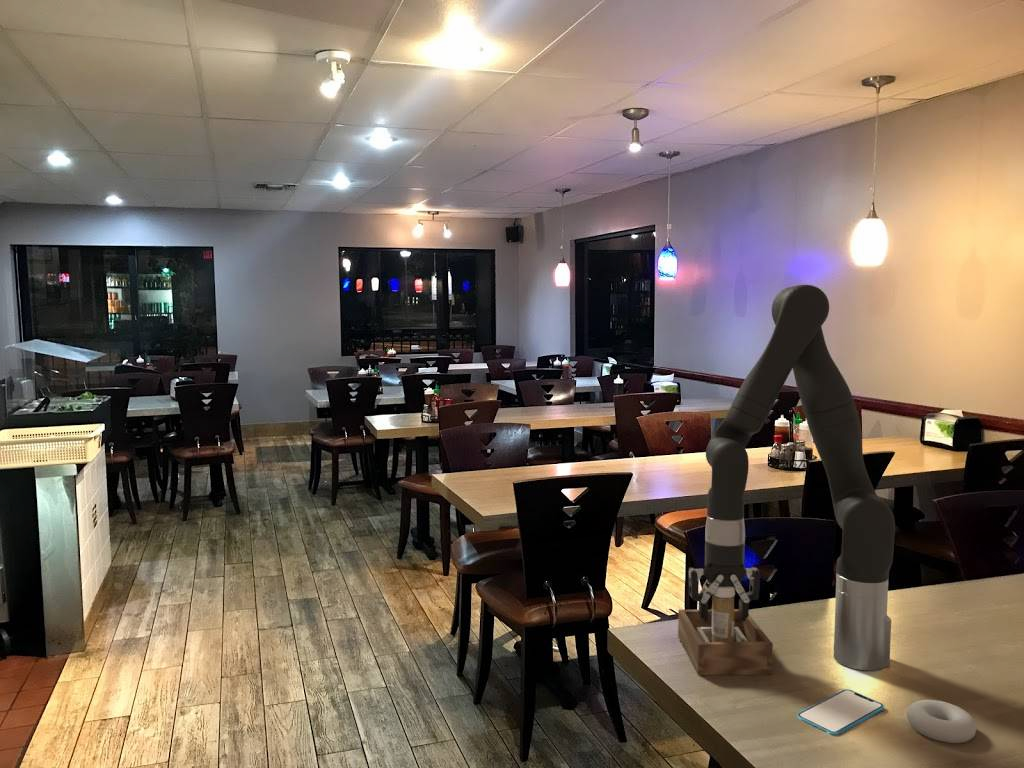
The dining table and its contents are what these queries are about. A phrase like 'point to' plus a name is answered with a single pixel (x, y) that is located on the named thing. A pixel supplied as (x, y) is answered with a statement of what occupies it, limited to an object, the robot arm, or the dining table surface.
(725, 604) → the sprinkles bottle
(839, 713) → the smartphone
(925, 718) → the donut
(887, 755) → the dining table surface
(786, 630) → the dining table surface
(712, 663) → the caddy
